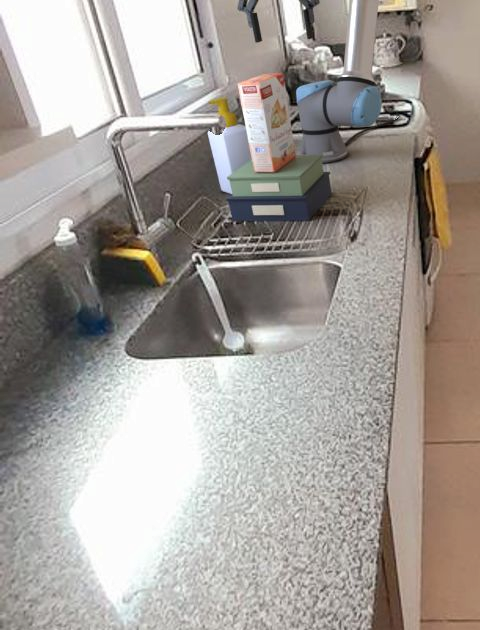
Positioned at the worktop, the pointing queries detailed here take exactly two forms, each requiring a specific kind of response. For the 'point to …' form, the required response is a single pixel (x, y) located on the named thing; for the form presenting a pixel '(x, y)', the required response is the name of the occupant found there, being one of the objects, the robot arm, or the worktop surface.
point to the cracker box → (267, 122)
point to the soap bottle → (229, 145)
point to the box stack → (279, 191)
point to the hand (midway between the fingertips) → (284, 40)
